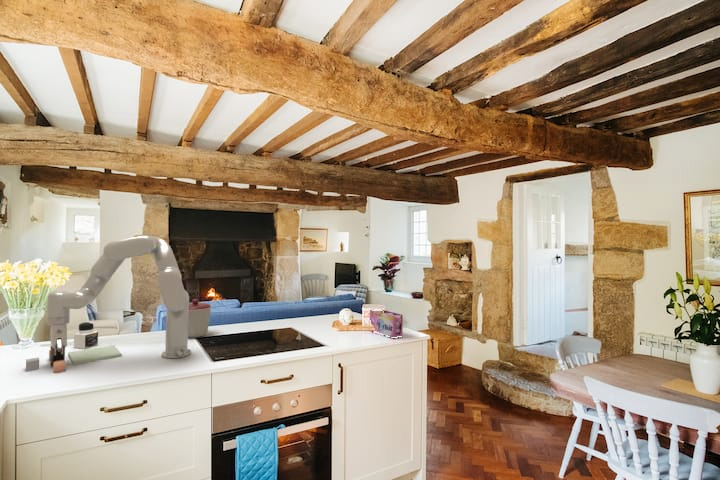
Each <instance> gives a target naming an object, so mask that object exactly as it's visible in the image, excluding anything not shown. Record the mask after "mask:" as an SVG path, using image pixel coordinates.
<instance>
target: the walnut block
mask: <svg viewBox="0 0 720 480" xmlns="http://www.w3.org/2000/svg"><path fill="white" fill-rule="evenodd" d="M56 347H57V346H56ZM56 350H57V349H56ZM53 355H54V349H53V348H52V346H50V360H49V366H50V368H53ZM65 356H66V347H65V346H63V360H66V357H65Z"/></svg>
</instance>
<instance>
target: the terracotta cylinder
mask: <svg viewBox="0 0 720 480" xmlns="http://www.w3.org/2000/svg"><path fill="white" fill-rule="evenodd" d="M52 368H53V369H52V370H53V371H52V373H55V374H58V373H59V374H60V373H64V372H66V370H67V360H66V359H65V360H59V361H55V362H54V363H53V367H52Z"/></svg>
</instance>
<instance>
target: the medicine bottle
mask: <svg viewBox="0 0 720 480" xmlns="http://www.w3.org/2000/svg"><path fill="white" fill-rule="evenodd" d="M94 326H95V323H94V322H91V321H87V322H85V321H84V322H81V323H79V325H78V332H76V333H74V334H73V348H74V349H81V350H87V349H91V348H93V347H96V346H98V345H99V344H98V343H99V340H98V339H99V331H96V330H95V331H94V328H95V327H94Z"/></svg>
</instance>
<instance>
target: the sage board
mask: <svg viewBox="0 0 720 480" xmlns="http://www.w3.org/2000/svg"><path fill="white" fill-rule="evenodd" d="M67 353H68V354H67V355H68V357H69V360H70V361H71V364H72V365H79V364H85V363H90V362H96V361H104V360H108V359H113V358H120V357H121V358H122V357H123V355H122V352H121V351H120V350H119V349H118V348H117V347H116V345H107V346H101V347H94V348H93V347H92V348H87V349H81V350H80V349H79V350H74V351H68V352H67Z"/></svg>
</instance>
